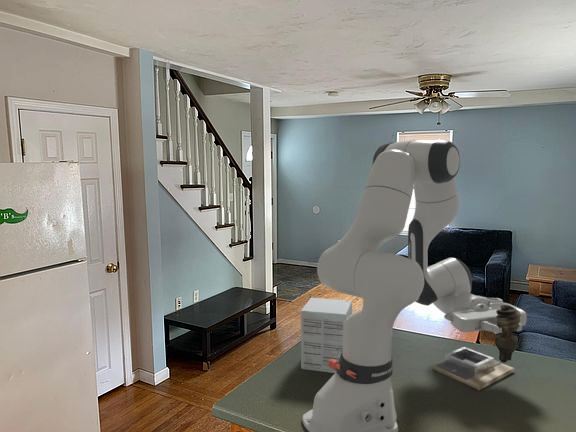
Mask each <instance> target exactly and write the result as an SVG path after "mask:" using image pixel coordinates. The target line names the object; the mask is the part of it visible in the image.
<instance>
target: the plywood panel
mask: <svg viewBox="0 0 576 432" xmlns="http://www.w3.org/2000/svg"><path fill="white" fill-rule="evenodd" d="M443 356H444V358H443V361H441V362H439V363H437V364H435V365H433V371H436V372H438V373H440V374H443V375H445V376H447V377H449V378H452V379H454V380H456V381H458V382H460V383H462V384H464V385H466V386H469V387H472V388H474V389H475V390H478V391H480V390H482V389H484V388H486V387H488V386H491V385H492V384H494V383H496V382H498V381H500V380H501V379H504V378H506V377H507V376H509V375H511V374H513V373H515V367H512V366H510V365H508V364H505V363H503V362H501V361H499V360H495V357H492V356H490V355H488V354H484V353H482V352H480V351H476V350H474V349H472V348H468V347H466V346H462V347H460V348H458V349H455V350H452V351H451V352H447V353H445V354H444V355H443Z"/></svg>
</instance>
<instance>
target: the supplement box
mask: <svg viewBox="0 0 576 432" xmlns="http://www.w3.org/2000/svg"><path fill="white" fill-rule="evenodd" d="M351 314H353V301H352V300H347V299H337V298H336V299H335V298H334V299H333V298H323V297H320V298H319V297H310V298H309V299H308V301H307V302H306V303H305V305H304V306H303V308H301V310H300V367H301V370H306V371H307V370H308V371H316V372H324V373H330V374H335V373H336V370H334V369H333V368H330V367H329V366H328V362H329V360H330V359H334V360H335V361H338V362H339V359H340V356H341V353H342V348H343V324H344V322H345V320H346V319H347V318H348V317H349V316H350V315H351Z"/></svg>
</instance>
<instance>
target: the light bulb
mask: <svg viewBox="0 0 576 432" xmlns="http://www.w3.org/2000/svg"><path fill="white" fill-rule="evenodd" d="M500 307H501V309H498V310H497V311H496V313H497V314H498V315H497V316H496V318H497V319H498V321H497V324H498V325H499V326H502V333H498V334H496V333H494V334H495V337H494V345H495V346H496V348H497V350H498V351H499V352H498V353H499V356H498V359H499V360H500V362H501V363H502V364H505V363H507V362H508V361H512V356H513V353H514V352H515V351H516V350H517V349H518V344H519V337H518V335H516V334H514V333H513V332H516V331H515V330H517V329H518V328H519V323H520V316H521V314H520V312H519V311H518V310H517V309H515V308H514V307H512V306H509V305H501V306H500Z"/></svg>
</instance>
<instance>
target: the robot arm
mask: <svg viewBox="0 0 576 432" xmlns="http://www.w3.org/2000/svg"><path fill="white" fill-rule="evenodd" d="M460 163H461V157H460V152H459V148H457V146H456V145H455V144H454V143H453V142H452V141H450V140H444V139H435V140H429V139H427V140H425V139H421V140H416V139H412V140H411V139H409V140H403V141H395V142H390V141H389V142H387V143H384V144H382V145H380V146H379V147H378V148H377V149H376V150H375V152H374V155H373V158H372V167H371V169H370V170H369V174H368V176H367V179H366V183H365V186H364V190H363V193H362V195H361V196H362V197H361V201H360V204H359V207H358V209H357V210H358V211H357V212H356V215H355V218H354V221H353V223H352V224H351V226H350V228H349V229H348V230H347V232H346V233H345V234H344V236H343V237H341V239H340V240H339V241H338V242H337V243H335V244H334V245H332V246H331V247H329V248H327V249H326V250H324V251H323V252H322V253H321V255H320V257H319V258H318V261H317V265H316V274H317V278H318V280H319V282H320V283H321V285H323V286H325V287H326V288H328V289H330V290H332V291H334V292H337V293H340V294H343V295H348V296H352V297H357V298H360V299H362V309H361V310H358V311H356V312H352V314H351V315H350V316H349V317H348V318H347V319H346V320H345V322H344V324H343V348H342V353H341V356H340V359H339V362H338V361H335V360H334V359H330V360H329V362H328V366H329V367H330V368H333V369H334V370H336V373H333V375H332V376H331V377H330V378H329V379H328V380H327V381H326V382H325V383H324V385H323V386H322V387H321V388H320V389H319V390H318V391H317V393H316V394H315V396H314V399H313V404H312V405H313V406H312V409H310V410H309V411H307V412H305V413H304V414H302V424H303V426H304V427H305V429H306V430H307V431H308V432H399V426H398V422H397V419H398V415H397V410H396V407H395V397H394V389H393V384H392V375H393V370H394V364H393V356H392V354H391V353H392V340H393V339H392V338H393V329H394V325H395V322H396V320H397V318H398V316H399V314H400V313H402V311H403V310H404V309H406V308H407V307H408V306H410V305H412V304H413V303H417V304H420V305H423V306H431V305H432V304H433V305H434V306H435V307H436V308H437V309H438V310H439V311H441V312H442V313H444V315H443V316H444V319H445V320H448V321H450V324H451V326H453V327H454V328H455V329H456V330H458V331H459V332H462V333H473V332H480V331H481V332H482V331H487V332H491V333H494V334H498V333H502V326H499V325H498V324H497V321H498V319H497V318H496V316H497V315H498V314H497V313H496V311H497V310H498V309H501V307H500V306H501V305H509V306H512V307H514V308H515V309H517V310H518V311H519V312H520V314H521V316H520V323H519V328H518V329H517V330H515V331H514V332H521V331H523V326H526V324H527V319H528V317H527V316H528V315H527V312H526V311H525V310H523V309H522V308H520V307H517V306H515V305H512V303H511V304H510V303H508V302H504V300H503V299H501V298H499V297H486V296H481V295H475V294H473V293H471V292H472V287H473V278H472V273H471V271H470V268H469V267H468V266H467V265H466V263H464V262H463V261H461V260H460V259H458V258H456V257H448V258H445V259H443V260H440V261H439V262H436V263H435V264H432V265H428V251H429V250H428V249H429V246H430V243H431V242H432V241H433V239H434V238H435V237H436V236H437V235H438V234H440V232H441V231H442V230H443V229H445V228H446V227H448V226H449V225H450V224H451V223H452V222H453V221H454V219H455V218H456V216H457V214H458V212H459V196H458V190H457V183H456V179H455V177H456V176H457V174H458V172H459V171H460V170H459V169H460ZM413 192H414V198H415V210H414V214H413V217H412V220H411V221H410V223H409V225H408V229H407V231H408V232H407V257H405V256H403V255H400V254H398V253H390V252H383V251H379V249H380V248H381V247H382V246H383V245H384V244H385V243H386V242H387V241H389V240H392V239H393V238H396V237H398V236H399V235H401V233H402V232H403V230H404V229H405V226H406V223H407V218H408V213H409V209H410V204H411V201H412V196H413Z"/></svg>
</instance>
